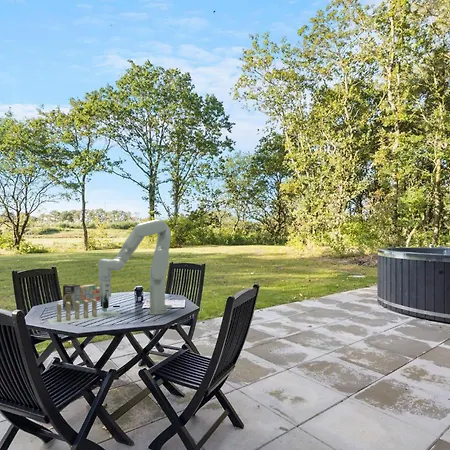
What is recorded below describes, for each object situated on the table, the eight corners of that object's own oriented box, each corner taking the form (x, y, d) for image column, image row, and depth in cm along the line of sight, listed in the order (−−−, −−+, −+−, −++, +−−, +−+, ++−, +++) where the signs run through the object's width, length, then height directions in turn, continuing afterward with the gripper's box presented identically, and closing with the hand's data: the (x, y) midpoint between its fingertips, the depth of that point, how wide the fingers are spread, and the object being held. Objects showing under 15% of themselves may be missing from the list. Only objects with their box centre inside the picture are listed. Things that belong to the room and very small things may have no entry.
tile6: (59, 319, 214) (59, 302, 214) (61, 321, 210) (61, 304, 210) (56, 320, 213) (56, 303, 213) (58, 321, 209) (58, 304, 209)
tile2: (94, 315, 225) (94, 298, 225) (96, 316, 221) (96, 300, 221) (92, 315, 224) (91, 299, 224) (94, 317, 220) (94, 300, 220)
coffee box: (62, 309, 242) (62, 285, 242) (69, 307, 248) (69, 284, 248) (73, 310, 239) (73, 286, 239) (80, 308, 245) (80, 284, 245)
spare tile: (104, 310, 229) (104, 294, 229) (106, 311, 225) (107, 295, 225) (102, 310, 228) (102, 294, 228) (104, 311, 224) (104, 295, 224)
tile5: (68, 318, 217) (68, 301, 217) (70, 320, 213) (70, 303, 213) (66, 318, 216) (66, 302, 216) (67, 320, 212) (67, 303, 212)
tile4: (77, 317, 220) (77, 300, 220) (79, 319, 215) (79, 302, 216) (74, 317, 219) (74, 301, 219) (76, 319, 215) (76, 302, 215)
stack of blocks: (102, 298, 280) (102, 282, 280) (107, 299, 277) (107, 283, 277) (76, 303, 263) (76, 286, 263) (81, 304, 259) (81, 287, 259)
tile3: (86, 316, 222) (86, 299, 222) (88, 317, 218) (88, 301, 218) (83, 316, 222) (83, 300, 222) (85, 318, 217) (85, 301, 217)
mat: (114, 311, 237) (114, 310, 237) (121, 315, 225) (121, 315, 225) (47, 320, 214) (47, 319, 214) (50, 325, 203) (50, 324, 203)
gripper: (115, 279, 221) (114, 309, 221) (107, 276, 236) (106, 304, 235) (102, 280, 217) (102, 310, 217) (95, 277, 231) (94, 305, 231)
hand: (104, 307), depth 226 cm, fingers closed on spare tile, 4 cm apart
